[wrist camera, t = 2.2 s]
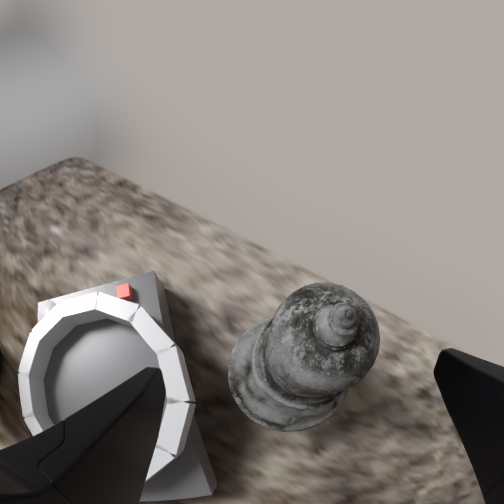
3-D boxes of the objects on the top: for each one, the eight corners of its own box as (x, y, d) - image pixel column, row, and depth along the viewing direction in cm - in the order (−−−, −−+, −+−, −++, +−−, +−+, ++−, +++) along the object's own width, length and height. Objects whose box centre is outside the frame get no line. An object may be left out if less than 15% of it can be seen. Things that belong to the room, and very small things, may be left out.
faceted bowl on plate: (230, 480, 12) (224, 500, 8) (79, 490, 10) (45, 499, 7) (175, 285, 18) (158, 254, 15) (50, 317, 17) (18, 295, 13)
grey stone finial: (255, 441, 13) (264, 518, 3) (217, 352, 16) (156, 239, 6) (347, 399, 14) (497, 360, 4) (306, 317, 17) (377, 172, 7)
